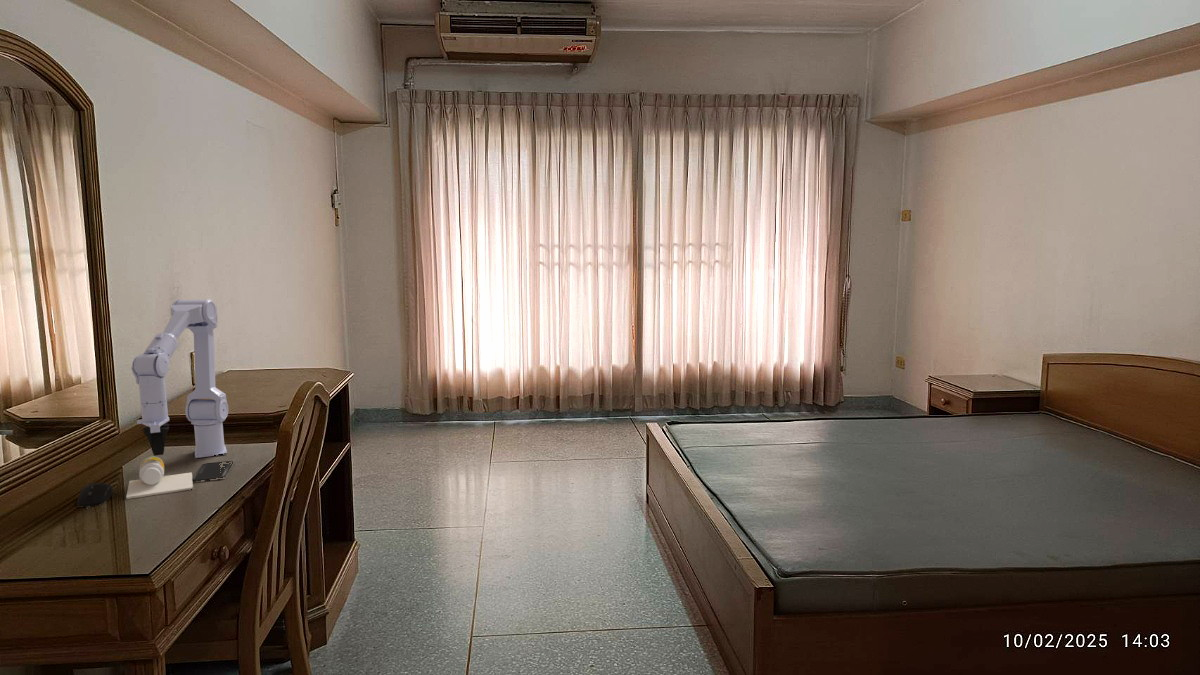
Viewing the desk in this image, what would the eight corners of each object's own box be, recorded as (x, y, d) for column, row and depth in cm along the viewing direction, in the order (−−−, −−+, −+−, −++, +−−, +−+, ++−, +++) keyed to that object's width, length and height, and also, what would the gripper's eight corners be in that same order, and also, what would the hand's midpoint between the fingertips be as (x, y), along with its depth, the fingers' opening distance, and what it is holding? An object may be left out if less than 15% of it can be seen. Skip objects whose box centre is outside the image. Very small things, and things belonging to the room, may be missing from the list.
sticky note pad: (129, 482, 200) (129, 480, 200) (192, 474, 207) (191, 472, 207) (126, 499, 188) (126, 497, 188) (192, 489, 194) (192, 487, 194)
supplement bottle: (160, 478, 204) (159, 489, 196) (136, 474, 202) (135, 485, 193) (167, 458, 205) (167, 468, 196) (144, 453, 202) (143, 463, 193)
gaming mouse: (69, 514, 179) (67, 497, 179) (86, 494, 193) (85, 478, 192) (101, 511, 181) (99, 494, 181) (116, 491, 195) (114, 475, 195)
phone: (234, 460, 216) (225, 476, 202) (234, 464, 216) (225, 480, 202) (202, 463, 214) (190, 479, 200) (202, 467, 214) (191, 484, 200)
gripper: (136, 398, 203) (141, 449, 205) (133, 409, 190) (139, 464, 192) (168, 395, 206) (172, 446, 208) (167, 405, 194) (172, 459, 195)
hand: (158, 454), depth 200 cm, fingers closed
